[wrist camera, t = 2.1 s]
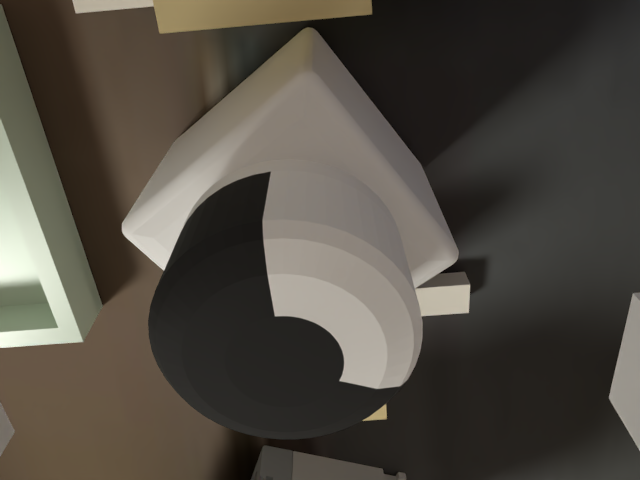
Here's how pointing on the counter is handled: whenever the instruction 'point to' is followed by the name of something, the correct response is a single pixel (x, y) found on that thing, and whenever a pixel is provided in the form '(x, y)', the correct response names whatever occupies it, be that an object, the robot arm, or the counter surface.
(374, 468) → the circuit breaker
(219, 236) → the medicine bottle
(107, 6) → the fuse holder
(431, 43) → the counter surface
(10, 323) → the tray
